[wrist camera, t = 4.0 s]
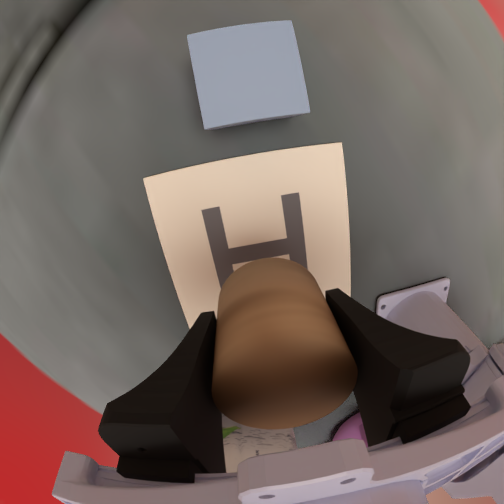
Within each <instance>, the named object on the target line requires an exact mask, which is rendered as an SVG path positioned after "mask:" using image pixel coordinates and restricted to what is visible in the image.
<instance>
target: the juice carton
mask: <svg viewBox="0 0 504 504" xmlns="http://www.w3.org/2000/svg"><path fill="white" fill-rule="evenodd" d="M222 430H223V445H224V455H225V465H226V473H233V472H237V468H238V464H239V463H241V462H242V461H244V460H246V459H247V458H249V457H253V456H258V455H262V454H268V453H275V452H282V451H288V450H294V449H297V445H296V440H295V435H294V431H293V428H286V429H258V428H252V427H248V426H245V425H242V424H239V423H237V422H235V421H233V420H231V419H229V418H228V417H226V416H225V415H224V414H223V413H222Z"/></svg>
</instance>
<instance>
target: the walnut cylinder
mask: <svg viewBox="0 0 504 504" xmlns="http://www.w3.org/2000/svg"><path fill="white" fill-rule="evenodd" d="M357 373H358V370H357V365H356V363H355V361H354V358H353V356H352V354H351V352H350V350H349V348H348V345H347V343H346V341H345V339H344V337H343V335H342V333H341V330H340V328H339V326H338V324H337V322H336V320H335V318H334V316H333V314H332V312H331V310H330V308H329V306H328V304H327V301H326V299H325V297H324V295H323V293H322V291H321V289H320V287H319V285H318V283H317V281H316V279H315V278H314V276H313V275H312V274H311V273H310V272H309V271H308V270H307V269H306V268H305V267H303V266H302V265H300V264H298V263H296V262H294V261H291V260H288V259H284V258H262V259H258V260H254V261H252V262H249V263H247V264H245V265H243V266H241V267H240V268H238V269H237V270H235V271H234V272H233V273H232V274H231V275H230V276H229V277H228V278H227V280H226V281H225V283H224V284H223V286H222V288H221V291H220V294H219V300H218V310H217V322H216V335H215V348H214V362H213V376H212V398H213V401H214V403H215V405H216V407H217V408H218V409H219V410H220V412H221V413H223V414H224V415H225V416H226V417H228V418H229V419H231V420H233V421H235V422H237V423H239V424H242V425H245V426H248V427H252V428H258V429H286V428H293V427H297V426H301V425H305V424H308V423H311V422H313V421H316V420H318V419H320V418H322V417H324V416H326V415H328V414H329V413H331V412H332V411H334V410H335V409H336V408H338V407H339V406H340V405H341V404H342V403H343V402H344V401H345V400H346V399H347V398H348V397H349V395H350V394H351V392H352V391H353V389H354V387H355V384H356V381H357Z"/></svg>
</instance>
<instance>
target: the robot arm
mask: <svg viewBox="0 0 504 504" xmlns="http://www.w3.org/2000/svg"><path fill="white" fill-rule="evenodd" d="M449 286H450V280H449V279H448V278H443V279H439V280H436V281H433V282H429V283H426V284H422V285H419V286H415V287H412V288H408V289H404V290H401V291H397V292H393V293H389V294H386V295H382V296H380V297H379V298H378V300H377V308H376V313H374V312H372V311H370V310H369V309H367V308H366V307H364V306H363V305H361V304H360V303H358V302H357V301H355V300H354V299H353V298H351V297H350V296H348V295H347V294H346V293H344V292H343V291H341V290H340V289H339V288H335V289H331V290H326V291H325V298H326V301H327V304H328V306H329V308H330V310H331V312H332V314H333V316H334V318H335V320H336V322H337V324H338V326H339V328H340V330H341V333H342V335H343V337H344V339H345V341H346V343H347V345H348V348H349V350H350V352H351V354H352V356H353V358H354V361H355V363H356V365H357V370H358V373H357V381H356V384H355V387H354V389H353V391H354V395H355V398H356V401H357V404H358V408H359V411H360V415H361V418H362V422H363V426H364V430H365V434H366V439H367V443H368V447H367V448H366V445H365V443H364V441H363V440H359V439H354V438H348V439H342V440H336V441H332V442H328V443H323V444H319V445H314V446H309V447H304V448H299V449H294V450H288V451H282V452H275V453H268V454H262V455H258V456H253V457H249V458H247V459H246V460H244V461H242V462H241V463H239V464H238V468H237V472H233V473H226V465H225V455H224V445H223V430H222V413H221V412H220V410H219V409H218V408H217V407H216V405H215V403H214V401H213V398H212V376H213V362H214V348H215V335H216V322H217V319H216V316H215V312H214V311H209V312H202V313H200V315H199V316H198V318H197V319H196V321H195V322H194V324H193V326H192V327H191V329H190V330H189V332H188V333H187V334H186V336H185V337H184V339H183V340H182V342H181V343H180V344H179V346H178V347H177V348H176V349H175V351H174V352H173V353H172V354H171V356H170V357H169V358H168V359H167V360H166V361H165V362H164V363H163V364H162V365H161V366H160V367H159V368H158V369H157V370H156V371H155V372H154V373H152V374H151V375H150V376H149V377H148V378H147V379H145V380H144V381H143V382H142V383H140V384H139V385H137V386H136V387H135V388H133V389H132V390H130V391H129V392H127V393H125V394H124V395H122V396H120V397H118V398H116V399H115V400H113V401H111V402H109V403H107V405H106V408H105V410H104V413H103V417H102V419H101V423H100V425H99V429H98V432H99V435H100V436H101V438H102V439H103V440H104V442H105V443H107V444H108V445H109V446H110V447H111V448H112V449H113V450H114V451H115V452H116V453H117V454H118V455H119V456H120V457H119V461H118V465H117V468H114V467H108V466H102V465H98V463H97V462H96V461H94V460H93V459H92V458H90V457H88V456H86V455H82V454H78V453H73V452H69V451H66V452H65V454H64V457H63V460H62V463H61V466H60V469H59V472H58V475H57V478H56V482H55V485H54V488H53V492H52V495H53V496H54V497H55V498H57V499H58V500H60V501H62V502H63V503H65V504H429V503H428V501H427V498H426V495H427V494H429V493H431V492H432V491H434V490H436V489H438V488H440V487H442V488H443V489H444V490H445V491H446V492H447V493H448V494H449V495H450V496H451V498H454V499H455V498H456V499H459V498H473V497H483V496H491V497H492V498H493V499H494V500H495V502H496V503H497V504H504V343H500V344H493V345H492V346H491V348H490V349H487V348H486V347H485V345H484V344H483V343H482V342H481V341H480V340H479V339H478V337H477V336H476V335H475V334H474V333H473V332H472V331H471V330H470V329H469V327H468V326H467V325H466V324H465V323H464V322H463V321H462V320H461V319H460V318H459V317H458V316H457V315H456V314H455V313H454V311H453V310H452V309H451V308H450V307H449V306H448V305H447V304H446V301H447V296H448V291H449ZM382 305H384V306H383V307H381V306H382Z"/></svg>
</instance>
